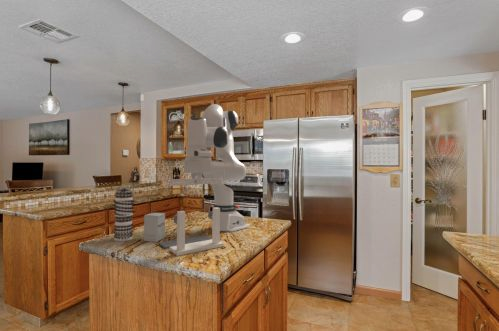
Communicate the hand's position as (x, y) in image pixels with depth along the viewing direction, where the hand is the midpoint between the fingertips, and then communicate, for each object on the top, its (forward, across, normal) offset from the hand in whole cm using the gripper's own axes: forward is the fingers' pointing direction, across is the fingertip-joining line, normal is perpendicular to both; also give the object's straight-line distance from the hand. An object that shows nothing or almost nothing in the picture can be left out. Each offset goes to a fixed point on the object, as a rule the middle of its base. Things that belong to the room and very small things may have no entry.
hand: (196, 183), depth 119 cm
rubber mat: (+29, -9, 0) cm, 30 cm away
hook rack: (+29, +2, 0) cm, 29 cm away
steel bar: (0, 0, 0) cm, 0 cm away
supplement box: (+29, -22, -11) cm, 38 cm away
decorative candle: (+29, -32, -23) cm, 49 cm away
